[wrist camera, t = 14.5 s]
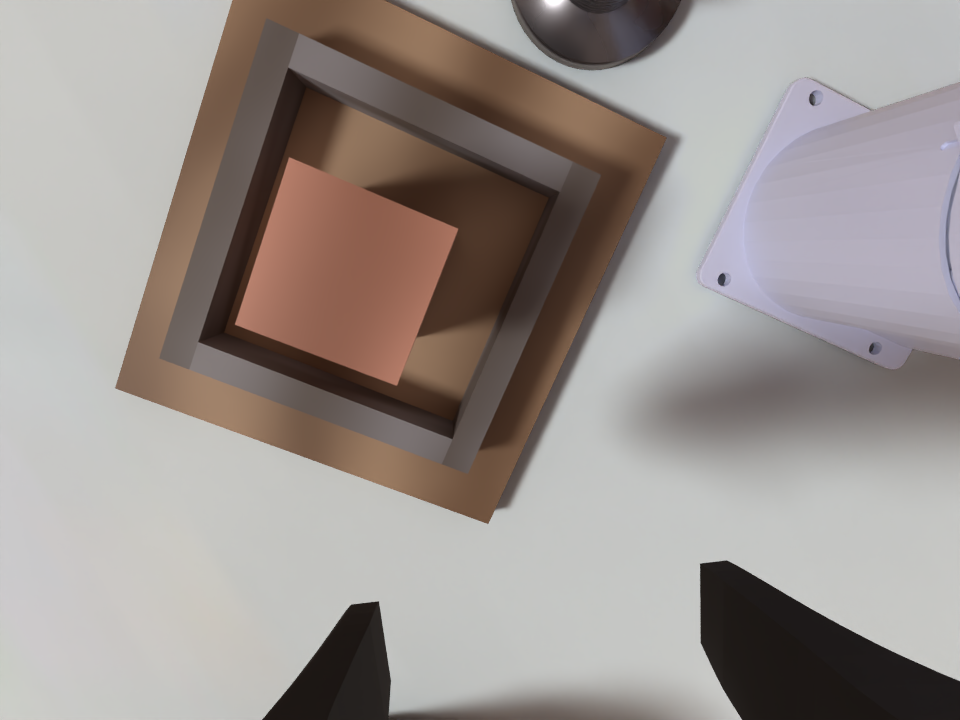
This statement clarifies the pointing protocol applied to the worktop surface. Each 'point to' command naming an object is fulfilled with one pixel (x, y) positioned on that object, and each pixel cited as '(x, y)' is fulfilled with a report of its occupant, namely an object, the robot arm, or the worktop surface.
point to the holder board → (412, 183)
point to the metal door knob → (593, 28)
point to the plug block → (344, 273)
